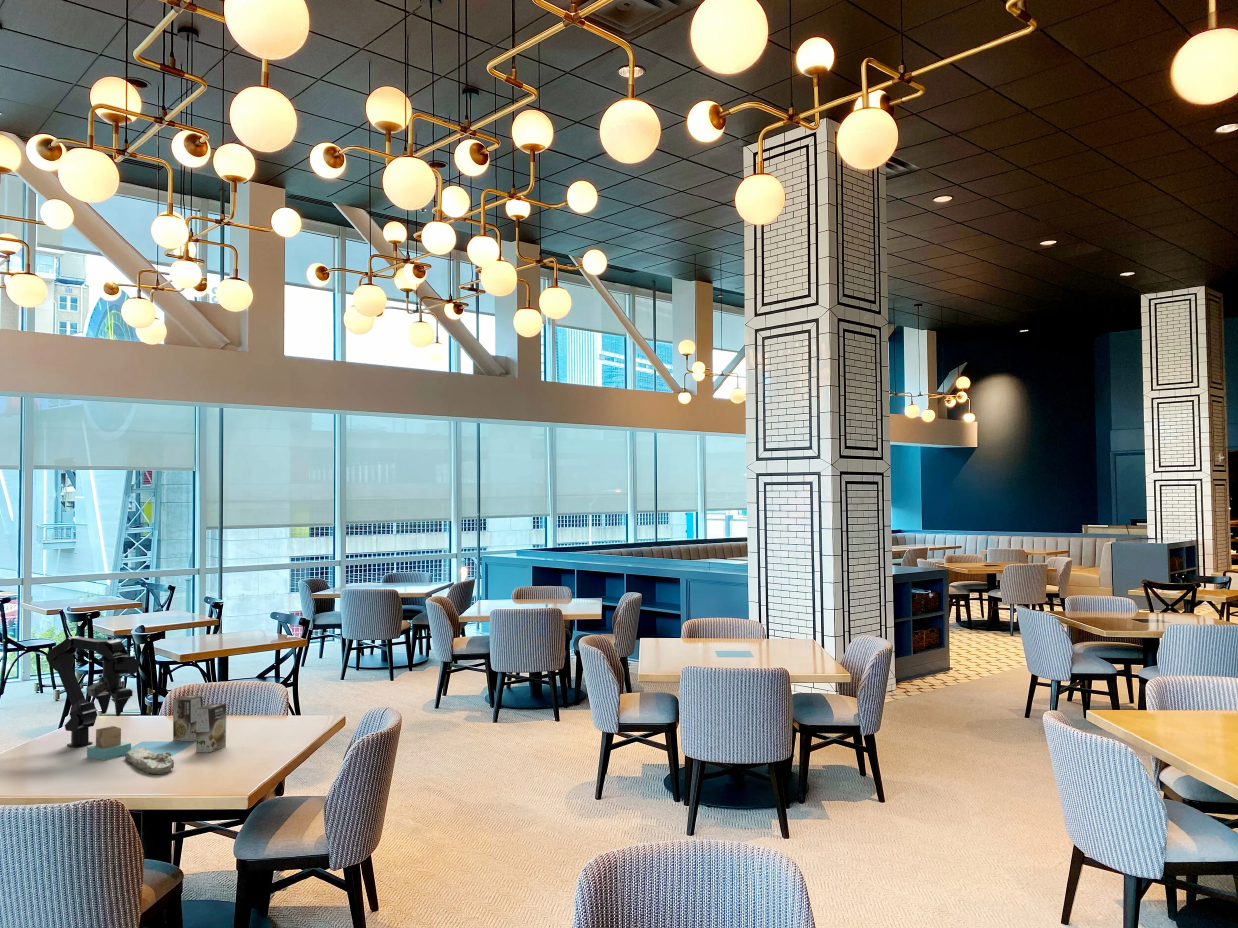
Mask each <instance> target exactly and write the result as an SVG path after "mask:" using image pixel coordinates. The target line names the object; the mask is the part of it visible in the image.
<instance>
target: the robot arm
mask: <svg viewBox="0 0 1238 928" xmlns="http://www.w3.org/2000/svg"><path fill="white" fill-rule="evenodd" d="M78 649H80V650H86V651H92V652H96V653H97V655H100V656H101V657H100V658H99V659H98V660H97V661H98V662H102V676H100V677H99V681H98V682H95V683H93V684H91V685H89V686H87V687H85V689H86V692H87V695H88V697H93V698H94V699H96V700H97V701H98V704H99V707H100V710H101V713H102V714H107V712H108V709H109V704H110V702H112V703H114V708H115V709H114V710H115V716H116V717H120V716H121V715H122V712H123V710H124V708H125V707H126V704H127V703H128V701H129V699H131V697H133V692H134V691H133V690H132V689H130V688H125V687H124V688H123V685H121V679H123V676H124V675H135V674H136V673H138V672H139V669H140V663H139V660H138V659H136V656H135V655H130V654H129V651H128V650H127V648H126V647H125V645H124V642H122V639H120V638H113V639H102V640H101V639H97V638H96V639H95V638H89V637H83V636H79V635H73V636H68V637H66V638H64V640H63V641H61V642H60V643H58V644H56V645H55V646H53V648H51V649H48V651H47V653H46V656H45V659H46V661H47V664H48V665H49V667H50V668H51V669H53V670H55V671H56V672H57V674H58V676H59V678H60V679H59V680H60V681H61V683H62V686H63V688H64V691H65V694H66V696H67V698H68V701H69V703H70V705H71V706H70V711H69V717H70V718H69V720H68V721H67V722H66V723H65V724H64V729H65V732H71V733H70V737H71V738H70V743H66V746H69V747H73V748H79V747H84V746H87V745H92V744H93V741H90V738H89V737H90V735H89V733H90V732H89V731H90V727H94V726H95V724H96V720H97V717H98V713H97V712H98V709H97V707H96V704H95V702H94V701H90V702H89V701H88V700H86V698H85V695H84V692H83V690H82V688H81V686H80V683H79V681H78V678H77V675H76V673H75V670H74V668H73V664H74V661H75V659H74V654H75V653H77V651H78Z"/></svg>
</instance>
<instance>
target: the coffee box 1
mask: <svg viewBox="0 0 1238 928" xmlns="http://www.w3.org/2000/svg"><path fill="white" fill-rule="evenodd" d="M203 699H204V698H203V696H201V695H200V696H197V695H183V696H179V697H177V698H173V699H172V726H173V727H172V728H173V729H172V732H173V733H172V740H173V741H176V740H180V742H195V741H196V717H197V708H199V707H202V706H204V704H203V702H204V701H203Z"/></svg>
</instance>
